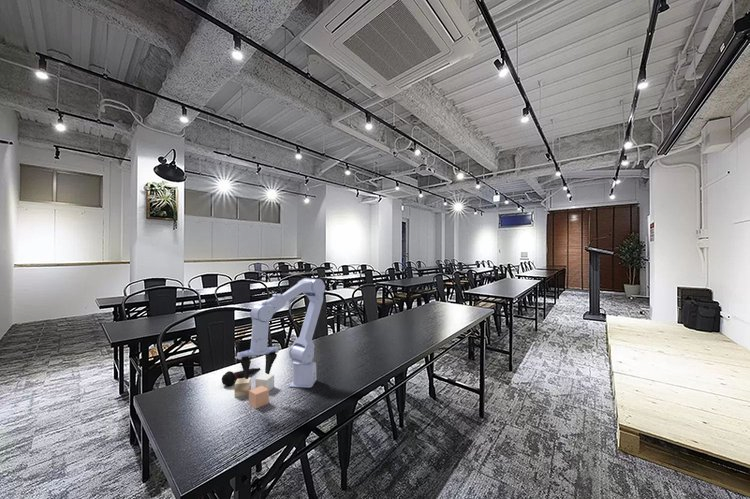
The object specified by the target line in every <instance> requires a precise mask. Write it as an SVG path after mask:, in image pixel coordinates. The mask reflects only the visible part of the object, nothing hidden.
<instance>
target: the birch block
mask: <svg viewBox="0 0 750 499" xmlns="http://www.w3.org/2000/svg"><path fill="white" fill-rule="evenodd" d="M251 389H252V377H250V376H249V378H248V379H245V378H240V379H237V380H236V381H235V382H234V398H239V397H247V396H248V397H249V390H251Z"/></svg>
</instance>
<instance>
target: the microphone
mask: <svg viewBox="0 0 750 499" xmlns="http://www.w3.org/2000/svg"><path fill="white" fill-rule="evenodd" d="M260 370H261V368H260V367H257V368H254V367H251V368H249V376H250V375H253V374H254V373H256V372H257V371H260ZM240 378H244V371H243V370H240V371H239V370H238V371H235V372H234V371H232V370H229V371H227V372H225V373H224V374H223V375H222V376H221V384H222V385H223V386H232V385H235V382H236V380H237V379H240Z"/></svg>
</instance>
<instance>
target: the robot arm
mask: <svg viewBox="0 0 750 499" xmlns="http://www.w3.org/2000/svg"><path fill="white" fill-rule="evenodd" d="M325 289H326V285H325V283H324V281H323V280H322V279H321V278H308V277H304V278H302V279H301V280H298V281H297V283H296V284H295V285H293V286H291V287H290V288H289V289H287V290H286V291H285V292H283V293H282V294H281V293H273V294H272V296H271V297H269V298H268V299H266V300H263V301H262V303H261V304H256V305H254V306H253V307H252V308H251V311H249V316H250V319H251V323H252V326H251V336H250V337H251V340H250V349H247V350H243V351H240V352H239V351H238V352H237V354H236V359H238V361H239V362H240V365H241V367H242V371H244V378H245V379H248V378H249V377H250V375H249V369H251V368H250V367H251V363H252V362H251V361H252V360H251V359H250V358H252V357H258V356H263V355H265V368H264V370H265V371H264V372H265V373H264V374H270V373H271V370H272V367H273V364H274V362H275V360H276V359H277V356H278V353H279V349H280V348H279V346H269V347H268V341H269V340H268V339H269V329H270V328H269V327H270V326H269V325H270V320H271V319H272V318H273V315H274V314H276V313H277V312H278V311H280V310H281V309H283V308H285V307H286V305H287V303H288V301H290V300H292V299H293V298H295V297H296V296H298V295H301V294H302V293H303V294H304V295H305V296H306V297H307V299H308V300H309V302H308V303H309V304H308V307H307V310H306V313H305V316H304V319H303V323H302V326H301V330H300V334H299V336H298V337H297V338H296V339H294V340H293V344H292V345H291V347H290V348H289V350H288V356H289V358H290V359H291V362H292V382H290V384H289V385H288V387H289V388H309V389H310V388H312V387H313V386H314V384H315V383H316V382H317V380H318V379H317V362H315V361H313V360H314V356H315V344H314V342H313V337H314V334H315V330H316V327H317V323H318V319H319V316H320V314H321V309H322V305H323V302H324V293H325Z"/></svg>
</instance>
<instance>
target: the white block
mask: <svg viewBox="0 0 750 499" xmlns="http://www.w3.org/2000/svg"><path fill="white" fill-rule="evenodd" d="M259 386H264V387H265V388H267V389H269V392H270V391H271V390H273V389H274V388H275V375H274V374H270V373H269V374H266V373H262V374H261V375H259V376H258V377H256V378H255V388H257V387H259Z"/></svg>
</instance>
